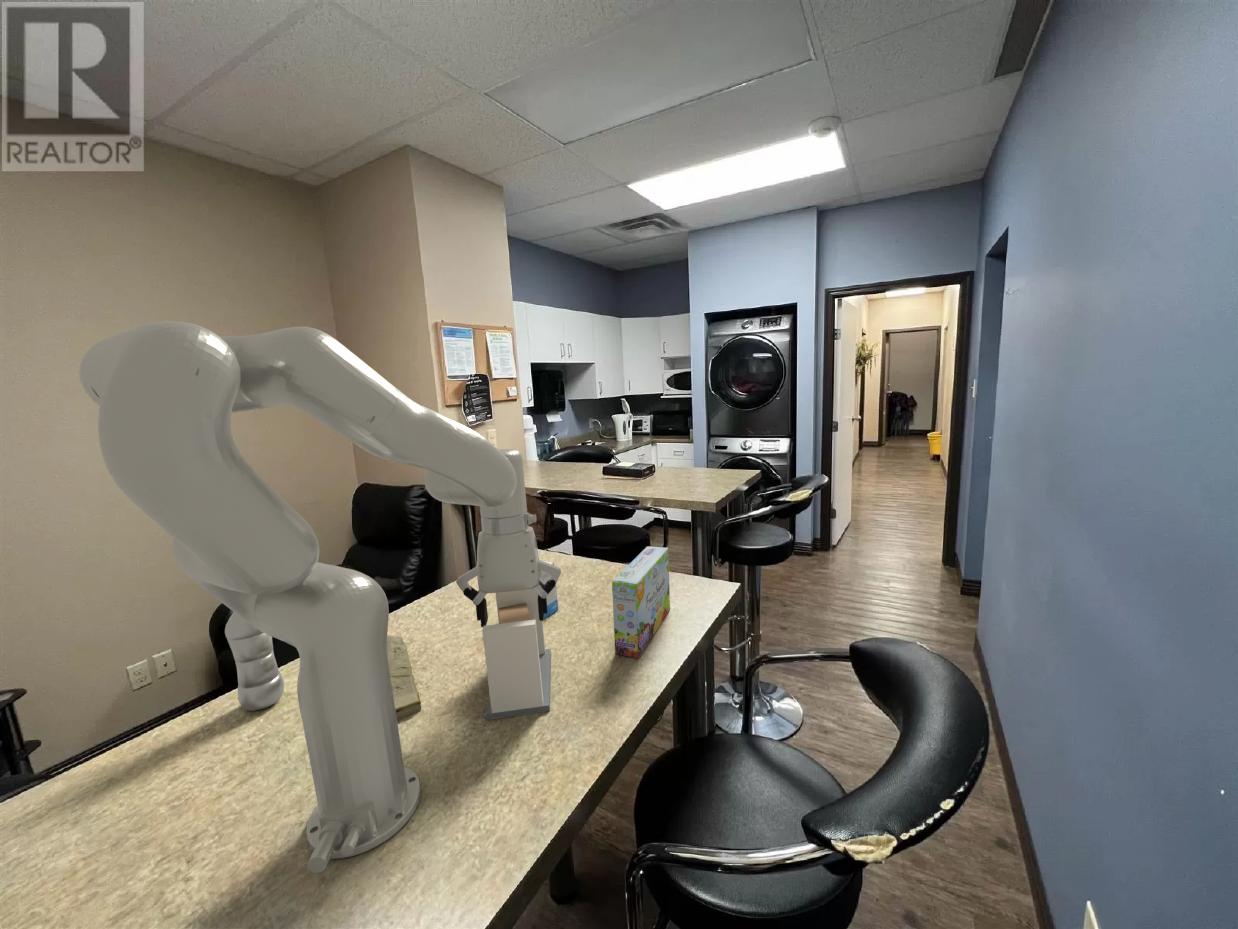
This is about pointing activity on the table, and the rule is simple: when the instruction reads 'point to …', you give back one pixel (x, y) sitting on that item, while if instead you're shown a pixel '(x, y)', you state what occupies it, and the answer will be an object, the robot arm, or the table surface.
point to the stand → (517, 661)
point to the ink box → (552, 596)
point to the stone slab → (402, 678)
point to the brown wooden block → (514, 613)
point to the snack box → (640, 600)
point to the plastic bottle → (254, 664)
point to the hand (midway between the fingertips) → (513, 620)
